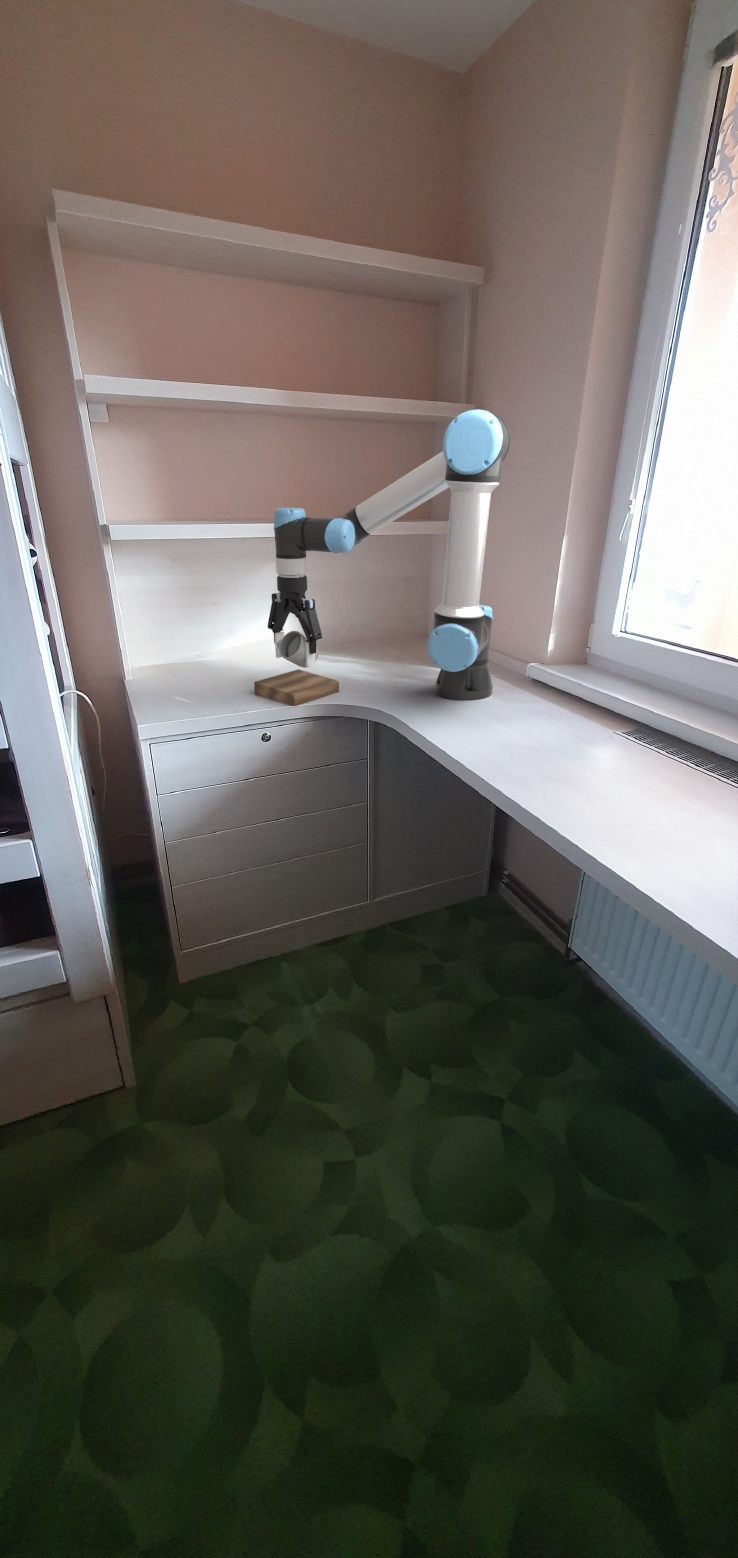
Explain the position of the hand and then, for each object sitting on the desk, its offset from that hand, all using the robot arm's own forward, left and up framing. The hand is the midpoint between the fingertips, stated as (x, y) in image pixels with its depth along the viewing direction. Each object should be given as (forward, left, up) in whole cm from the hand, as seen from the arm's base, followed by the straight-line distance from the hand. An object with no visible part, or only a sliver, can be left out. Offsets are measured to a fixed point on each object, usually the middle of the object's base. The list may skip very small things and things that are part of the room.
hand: (295, 661), depth 171 cm
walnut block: (0, 0, -10) cm, 10 cm away
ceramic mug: (0, 0, -2) cm, 2 cm away
